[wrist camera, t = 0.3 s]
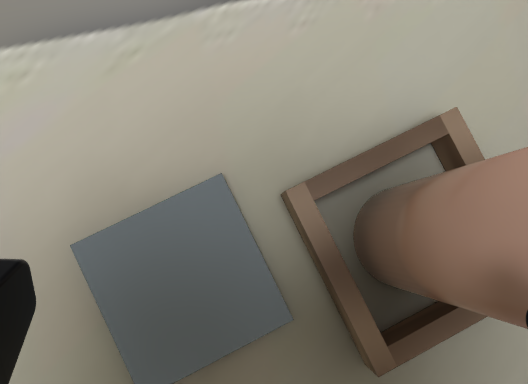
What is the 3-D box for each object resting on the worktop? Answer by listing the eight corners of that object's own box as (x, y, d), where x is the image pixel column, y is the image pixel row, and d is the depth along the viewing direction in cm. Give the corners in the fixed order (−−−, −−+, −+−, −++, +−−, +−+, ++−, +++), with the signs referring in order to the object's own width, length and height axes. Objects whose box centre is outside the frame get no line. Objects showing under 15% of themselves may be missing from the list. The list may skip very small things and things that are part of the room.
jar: (468, 259, 23) (834, 295, 9) (382, 305, 22) (631, 420, 8) (422, 170, 23) (706, 73, 9) (336, 213, 23) (503, 179, 9)
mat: (291, 317, 22) (293, 319, 21) (144, 395, 21) (141, 400, 20) (221, 174, 22) (221, 173, 22) (74, 245, 22) (69, 245, 21)
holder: (522, 277, 23) (549, 281, 21) (365, 364, 22) (378, 377, 20) (437, 117, 24) (456, 106, 22) (280, 194, 22) (285, 190, 21)
